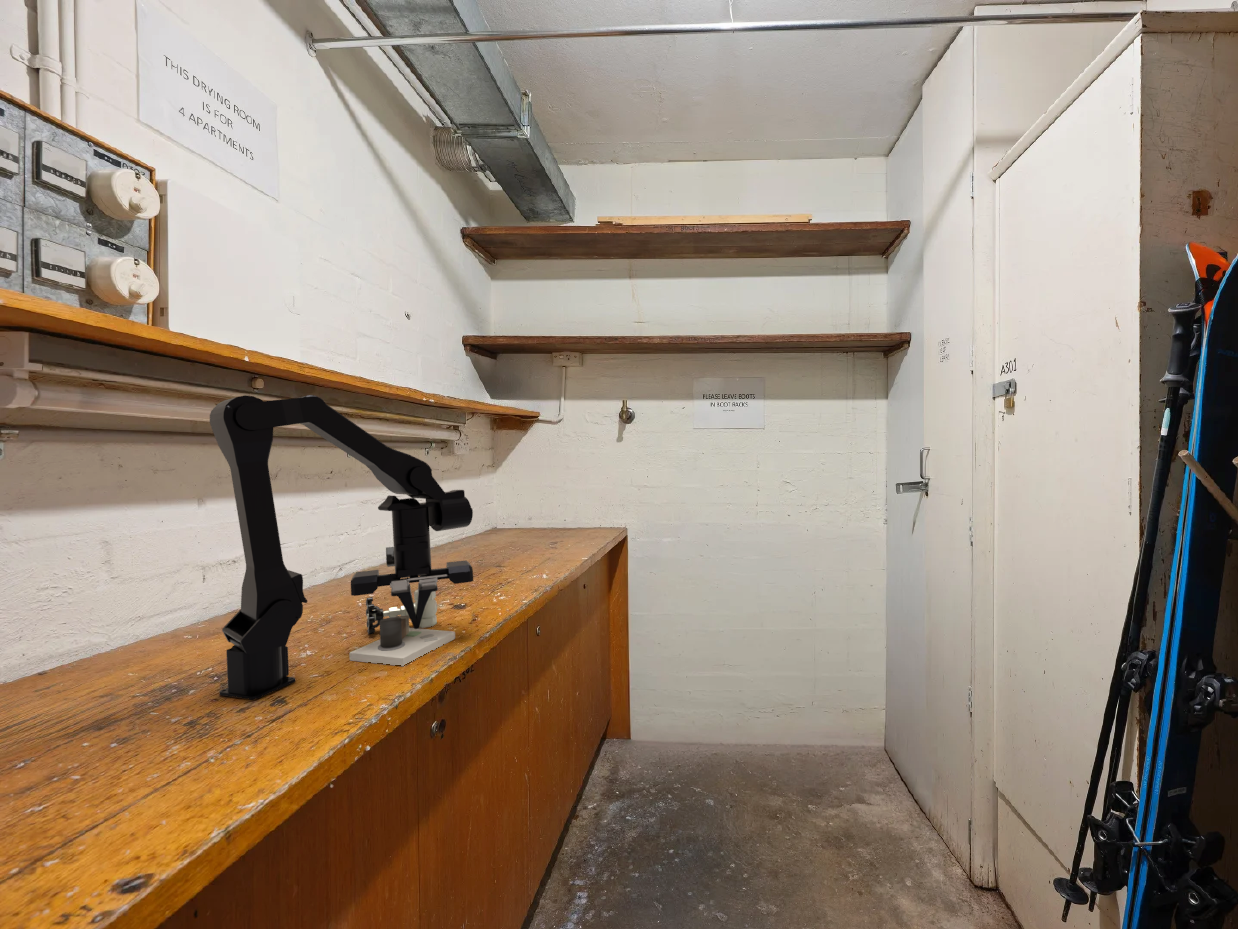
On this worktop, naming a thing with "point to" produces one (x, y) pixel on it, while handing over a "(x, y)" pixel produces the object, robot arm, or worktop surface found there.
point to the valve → (401, 613)
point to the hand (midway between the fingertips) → (416, 628)
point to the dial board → (403, 647)
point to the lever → (393, 630)
